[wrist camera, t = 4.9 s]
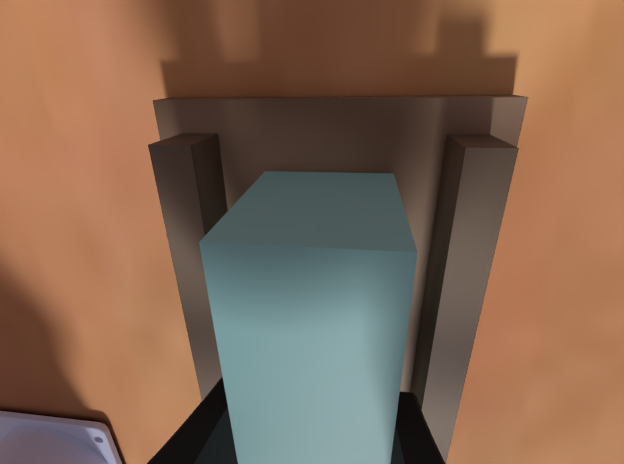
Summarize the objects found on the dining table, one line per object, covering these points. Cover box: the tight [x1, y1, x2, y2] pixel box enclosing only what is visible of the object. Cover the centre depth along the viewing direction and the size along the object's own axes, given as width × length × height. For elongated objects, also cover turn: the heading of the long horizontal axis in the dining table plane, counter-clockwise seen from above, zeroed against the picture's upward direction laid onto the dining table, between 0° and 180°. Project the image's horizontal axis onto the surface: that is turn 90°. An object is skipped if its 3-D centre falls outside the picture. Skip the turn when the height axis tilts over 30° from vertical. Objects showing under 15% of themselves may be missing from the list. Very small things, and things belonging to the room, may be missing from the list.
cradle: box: [148, 95, 528, 464], centre depth 13 cm, size 16×11×3 cm
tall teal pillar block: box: [199, 171, 418, 464], centre depth 11 cm, size 12×4×5 cm, turn 1°
